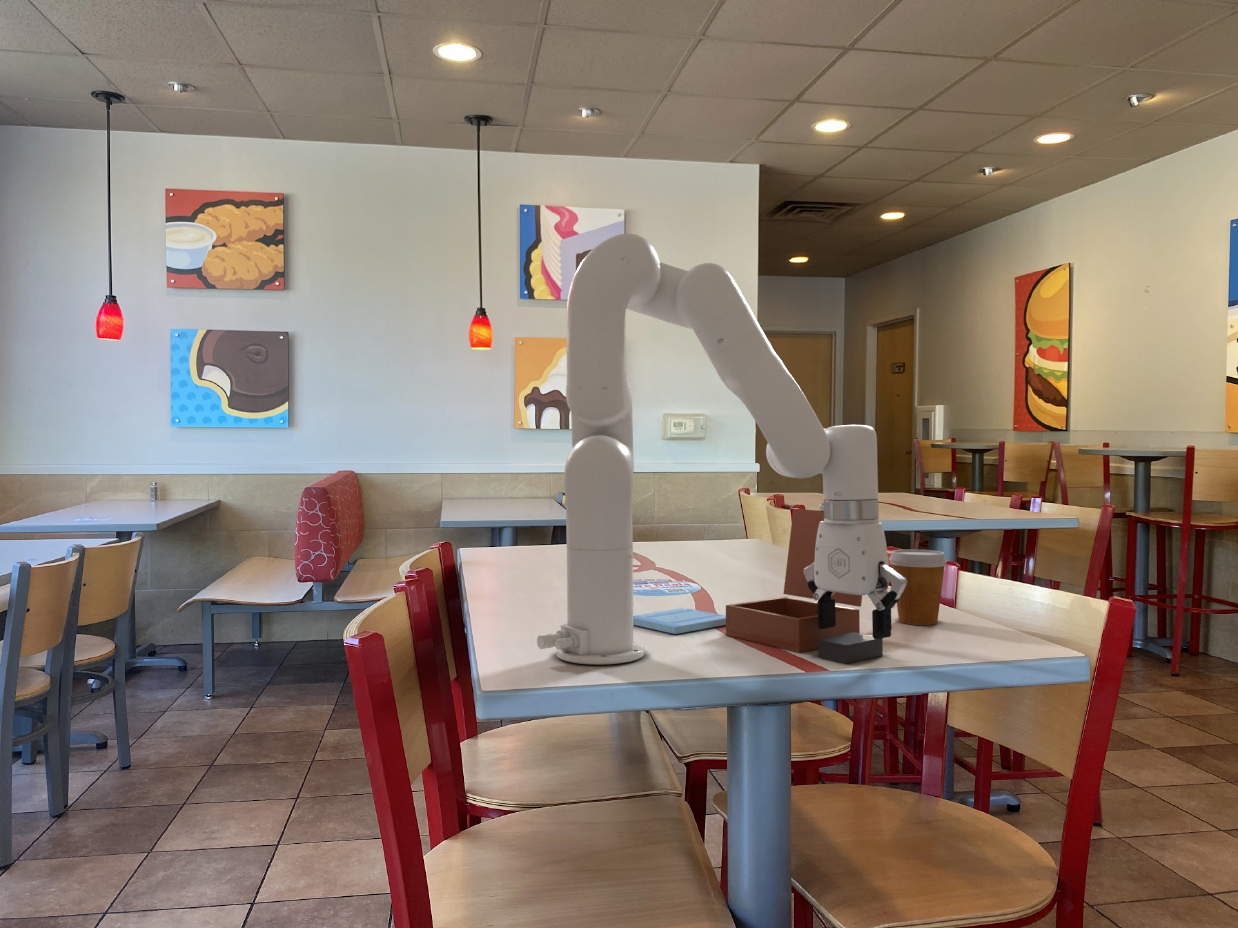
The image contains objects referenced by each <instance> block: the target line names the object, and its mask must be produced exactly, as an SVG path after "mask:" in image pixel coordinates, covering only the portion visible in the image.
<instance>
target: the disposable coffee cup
mask: <svg viewBox="0 0 1238 928" xmlns="http://www.w3.org/2000/svg"><path fill="white" fill-rule="evenodd" d="M888 561H889V563H890V565H891V569H893V570H894V571H895V572H897V573H898V574H900V575H901V576H902V577H904V578H905V579H906V580H907V584H906V586H905V589H904V591H903V593H902V597H901V599H900V600H899V601H898V602H897V603H896V609H897V616H898V617H897V618H898V621H899V622H900V623H903V624H907V625H913V626H914V625H915V626H932V625H937V624H938V621H939V613H940V605H941V597H942V591H943V590H942V589H943V581H944V574H945V566H947V563H948V559H947V558H946V554H945V552H943V551H939V550H933V549H931V550H930V549H895V550H892V551H891V552H890V557H888Z"/></svg>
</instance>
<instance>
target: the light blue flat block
mask: <svg viewBox="0 0 1238 928" xmlns="http://www.w3.org/2000/svg"><path fill="white" fill-rule="evenodd" d="M633 626H637V627H641V628H647V629H651V630H656V631H660V632H664V633H669V634H674V635H677V634H683V633H688V632H695V631H699V630H700V631H701V630H706V629H710V628H716V627H721V626H726V614H725V615H724V614H720V613H718V614H717V613H715V612H708V611H705V610H704V611H703V610H698V609H693V608H683V607H680V608H674V609H667V610H662V611H656V612H648V613H641V614H636V615H635V614H634V615H633Z"/></svg>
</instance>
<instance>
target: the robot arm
mask: <svg viewBox="0 0 1238 928" xmlns="http://www.w3.org/2000/svg"><path fill="white" fill-rule="evenodd" d="M566 303H567V304H566V349H565V350H566V387H565V400H566V405H567V407H568V409H569V411H570V419H571V420H570V421H571V450H570V452H569V453H568V455H567V457H566V461H565V465H564V474H563V475H564V476H563V480H564V481H563V482H564V484H563V485H564V501H565V525H566V526H565V527H566V531H565V533H566V534H565V537H566V592H567V593H566V623H565V624H560V629H559V630H557V631H556V632H555V633H546V634H540V635H538V636H537V638H536V644H537V647H538V649H540V650H545V649H552V648H555V649H556V656H557V658H558V659H560V660H563V661H565V662H568V663H574V664H579V665H581V664H582V665H597V666H599V665H600V666H601V665H616V664H617V665H618V664H624V663H631V662H633V661H637V660H639V659H641V658H643V657H644V655H645V647H644V645H643V644H641V643H640V642H636V641H634V625H633V616H634V545H633V544H634V542H633V541H634V539H633V536H634V534H633V532H634V531H633V530H634V529H633V525H634V523H633V485H634V483H633V482H634V481H633V479H634V473H635V472H634V471H635V461H634V429H633V428H634V427H633V425H634V424H633V423H634V422H633V396H632V389H631V386H630V382H629V380H628V373H627V358H626V355H627V353H626V338H627V336H626V314H627V313H626V312H627V310H629V311H632V312H635V313H638V314H641V315H644V316H646V317H647V316H648V317H650V318H652V319H656V320H660V321H663V322H666V323H669V324H672V325H675V326H679V327H682V328H686V329H691V330H692V331H693V332H694V334H695V336H696V337H697V339H698V342H699V343H700V344H701V346H702V348H703V350H704V351H705V353H706V355H707V357H708V359H709V361H710V363H711V364H712V367H713V368H714V369H715V371H716V373H717V376H718V377H719V379H720V380H721V382H722V384H724V386H725V387H726V389H728V390H729V391H730V392H731V393H732V394H734V395H735V396H736V397H737V398H738V399H739V400H740V402H741V403H742V404H743V405H744V406H745V408H746V409H747V411H748V412H749V413H750V415H751V416H752V418H753V420H754V421H755V423H756V424H757V426H758V428H759V430H760V431H761V433H762V435H763V437H764V439H765V440H766V442H767V444H766V448H765V449H766V450H765V456H766V460H767V463H768V465H769V467H771V469H772V470H774V472H776V473H777V474H778V475H781V476H782V477H786V478H791V479H808V478H812V477H815V476H817V475H818V474H819V475H820V474H822V492H823V493H822V494H823V495H822V496H823V497H822V499H823V502H822V503H820V504H819V511H821V512H824V521H820V523H819V527H818V532H817V538H816V547H815V563H813V564H811V565H810V566H808V567H806V568H804V570H803V572H804V575H805V577H806V580H807V582H808V587H809V589H810V590H811V591H812V593H813V594H814V595H813V598H814V599H813V600H814V601H815V602H817V603H818V628H820V629H825V628H830V627H834V626H835V625H836V611H835V606H836V603H835V599H831V597H832V596H833V595H834V593H835V592H838V593H845V594H853V595H862V596H866V595H867V597H868V598H869V600H870V601H871V603H872V604H873V606H874V607H875V608H874V609H872V612H871V617H872V618H871V619H872V620H871V623H872V624H871V625H872V636H873V637H874V639H882V638H883V639H886V638H890V637H891V636H892V626H893V625H892V609H894V608H895V607H896V605H897V602H898V601H899V600H900V599H901V597H902V593H903V591H904V589H905V586H906V584H907V580H906V579H905V578H904V577H902V576H901V575H900V574H898V573H897V572H895V571H894V570H893V569H892V567H890V566H889V555H888V546H887V541H886V536H885V529H884V527H883V522H881V521H879V520H880V519H879V477H878V438H877V437H878V436H877V432H876V430H875V428H873V427H872V426H870V425H865V424H846V425H844V424H843V425H832V426H829V427H826V428H824V426H823V425H822V423H821V421H820V420H819V418H818V415H817V414H816V413H815V411H814V409H813V407H812V406H811V403H810V402H809V401H808V398H807V397H806V395H805V393H804V392H803V390H802V389H801V388H800V386H799V384H798V383H797V381H796V380H795V378H794V377H793V376H792V374H791V373H790V372H789V370H788V369H787V367H786V365H785V364H784V362H783V360H782V359H781V357H780V356H779V355H778V354H777V352H776V351H775V350H774V347H773V346H772V344H771V342H770V340H769V339H768V337H767V336H766V334H765V332H764V330H763V329H762V327H761V326H760V323H759V322H758V320H757V319H756V316H755V314H754V312H753V311H752V308H751V307H750V305H749V304H748V302H747V300H746V298H745V296H744V295H743V293H742V291H741V289H740V288H739V286H738V285H737V282H736V281H735V279H734V277H733V276H732V275H731V273H730V272H729V271H728V270H727V269H726V268H724V267H723V266H722V265H720V264H717V263H712V262H705V263H704V262H703V263H700V264H698V265H695V266H693V267H691V268H690V269H688V270H686V269H683V268H679V267H676V266H673V265H670V264H667V263H664V262H662V261H660V259H659V255H658V253H657V251H656V249H655V247H654V246H653V245H652V243H651V242H649V240H647V239H646V238H645V237H643V236H641V235H639V234H635V233H620V234H617V235H613V236H611V237H609V238H607V239H605V240H603V241H601V242H600V243H599V244H597V245H596V246H594V248H592V249H591V250H590V251H589V252H588V253H587V254H586V255H585V257H584V258H583V259H582V261H580V263H579V265H578V267H577V269H576V270H575V273H574V274H573V277H572V279H571V283H570V286H569V291H568V295H567V301H566ZM889 584H890V585H891V586H890V585H889ZM889 586H890V590H889V591H888V589H889Z"/></svg>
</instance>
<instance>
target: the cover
mask: <svg viewBox="0 0 1238 928" xmlns="http://www.w3.org/2000/svg"><path fill="white" fill-rule="evenodd" d="M820 521H824V512H821V511H820V509H819V510H817V509H801V508H800V509H799V508H793V509H792V518H791V526H790V534H789V544H788V551H787V559H786V568H785V577H784V585H783V595H787V596H793V597H798V598H805V599H810V600H814V598H813V595H814V594H813V593H812V591H811V590H810V589H809V587H808V582H807V580H806V577H805V575H804V572H803V570H804V568H806V567H808V566H810V565H811V564H813V563H815V547H816V538H817V532H818V527H819V523H820ZM831 599H835V604H841V605H846V606H853V607H859V608H861V607H862V602H863V595H853V594H845V593H838V592H835V593H834V595H833V596H832V597H831Z"/></svg>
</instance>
